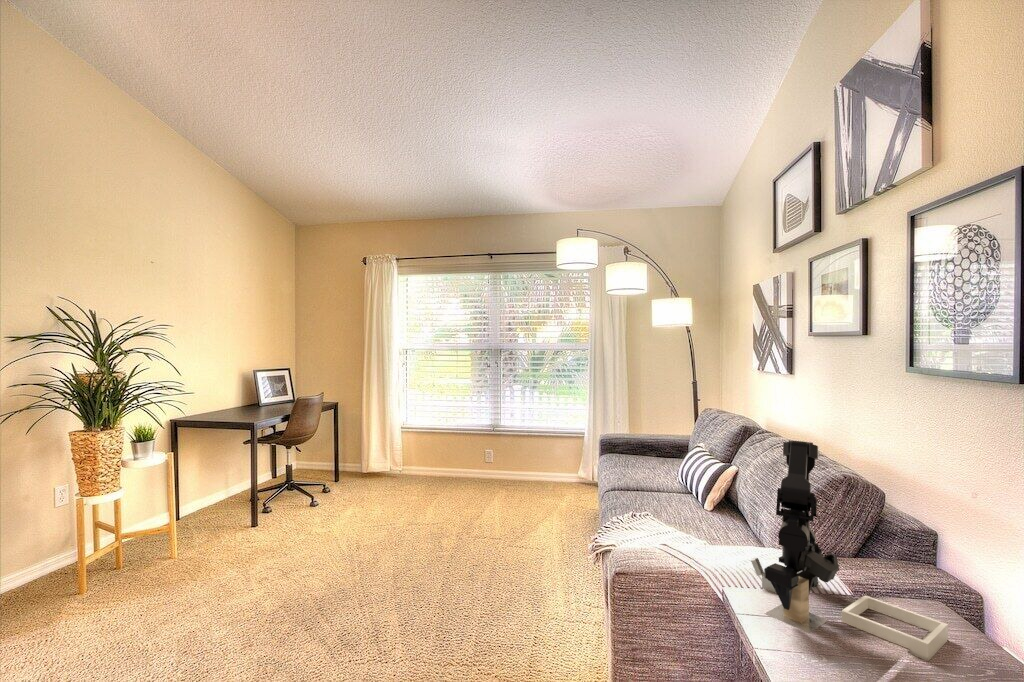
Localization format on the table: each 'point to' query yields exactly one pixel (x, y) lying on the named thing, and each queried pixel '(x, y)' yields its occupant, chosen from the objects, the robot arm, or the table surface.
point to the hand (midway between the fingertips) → (796, 603)
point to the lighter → (759, 571)
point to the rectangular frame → (917, 646)
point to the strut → (799, 602)
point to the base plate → (805, 626)
